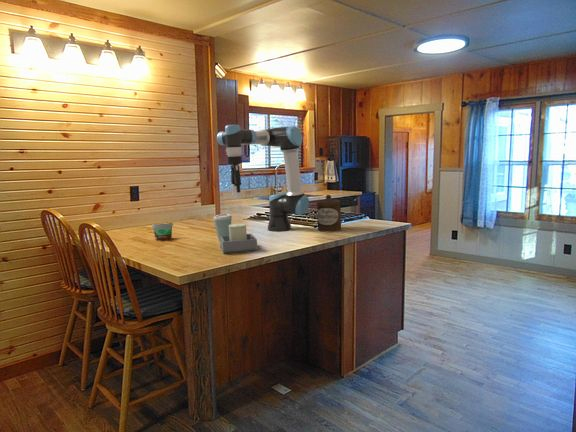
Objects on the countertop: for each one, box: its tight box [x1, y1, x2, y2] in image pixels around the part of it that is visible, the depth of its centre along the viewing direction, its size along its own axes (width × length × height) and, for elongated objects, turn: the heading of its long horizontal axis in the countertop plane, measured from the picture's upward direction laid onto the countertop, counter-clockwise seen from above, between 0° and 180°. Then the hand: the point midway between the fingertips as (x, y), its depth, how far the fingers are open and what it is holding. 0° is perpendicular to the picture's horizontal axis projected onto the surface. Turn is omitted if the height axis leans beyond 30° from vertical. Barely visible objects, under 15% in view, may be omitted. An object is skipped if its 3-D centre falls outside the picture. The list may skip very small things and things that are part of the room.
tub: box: [219, 233, 258, 255], centre depth 213 cm, size 17×17×6 cm
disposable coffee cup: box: [212, 213, 233, 242], centre depth 236 cm, size 11×11×15 cm
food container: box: [151, 221, 174, 241], centre depth 246 cm, size 12×6×10 cm, turn 112°
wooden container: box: [316, 194, 342, 232], centre depth 259 cm, size 15×15×22 cm
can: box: [229, 223, 248, 241], centre depth 213 cm, size 9×9×12 cm
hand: (236, 197), depth 212 cm, fingers open, 13 cm apart
